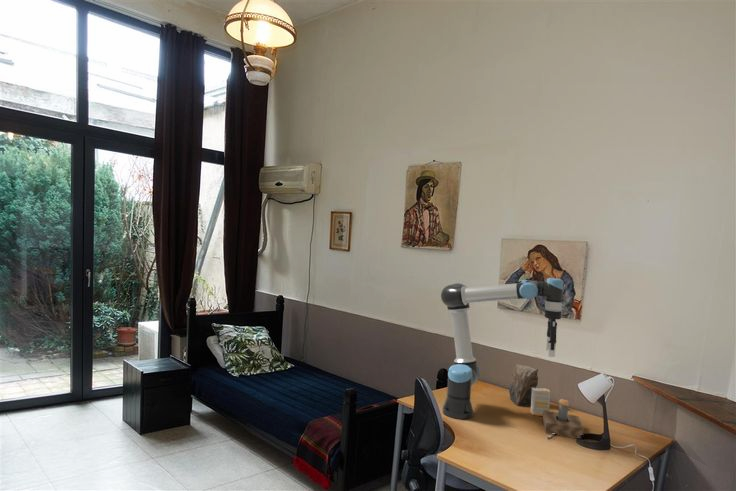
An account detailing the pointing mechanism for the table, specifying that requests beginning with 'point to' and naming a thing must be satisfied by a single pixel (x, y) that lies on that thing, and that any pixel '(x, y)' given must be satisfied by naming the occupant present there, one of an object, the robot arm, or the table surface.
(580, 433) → the socket board
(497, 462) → the table surface
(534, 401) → the supplement box
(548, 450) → the table surface
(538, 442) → the table surface
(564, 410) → the marker peg
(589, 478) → the table surface
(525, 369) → the brown rock
